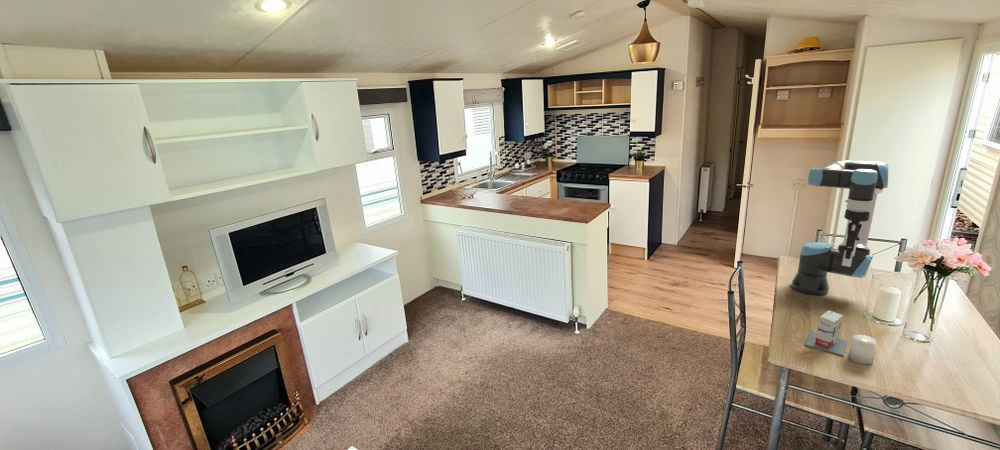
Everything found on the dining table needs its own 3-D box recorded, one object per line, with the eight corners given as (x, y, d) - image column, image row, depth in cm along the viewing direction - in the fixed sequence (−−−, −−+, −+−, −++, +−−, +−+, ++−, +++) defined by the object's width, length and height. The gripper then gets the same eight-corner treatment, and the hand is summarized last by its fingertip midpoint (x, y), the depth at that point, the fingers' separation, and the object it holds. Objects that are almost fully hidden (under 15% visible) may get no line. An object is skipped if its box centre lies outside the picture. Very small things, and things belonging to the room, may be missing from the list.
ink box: (829, 349, 167) (834, 321, 164) (814, 343, 171) (819, 316, 168) (838, 341, 172) (843, 314, 168) (823, 336, 176) (828, 309, 172)
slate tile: (810, 332, 180) (810, 331, 179) (846, 342, 172) (847, 341, 172) (804, 345, 171) (804, 344, 171) (843, 356, 163) (843, 355, 163)
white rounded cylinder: (847, 351, 166) (850, 333, 164) (870, 355, 163) (874, 336, 160) (850, 361, 160) (853, 342, 158) (875, 366, 157) (879, 346, 154)
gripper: (849, 201, 181) (840, 249, 187) (841, 215, 164) (832, 268, 170) (873, 203, 176) (862, 253, 183) (867, 218, 159) (856, 272, 165)
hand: (848, 260), depth 176 cm, fingers open, 13 cm apart
